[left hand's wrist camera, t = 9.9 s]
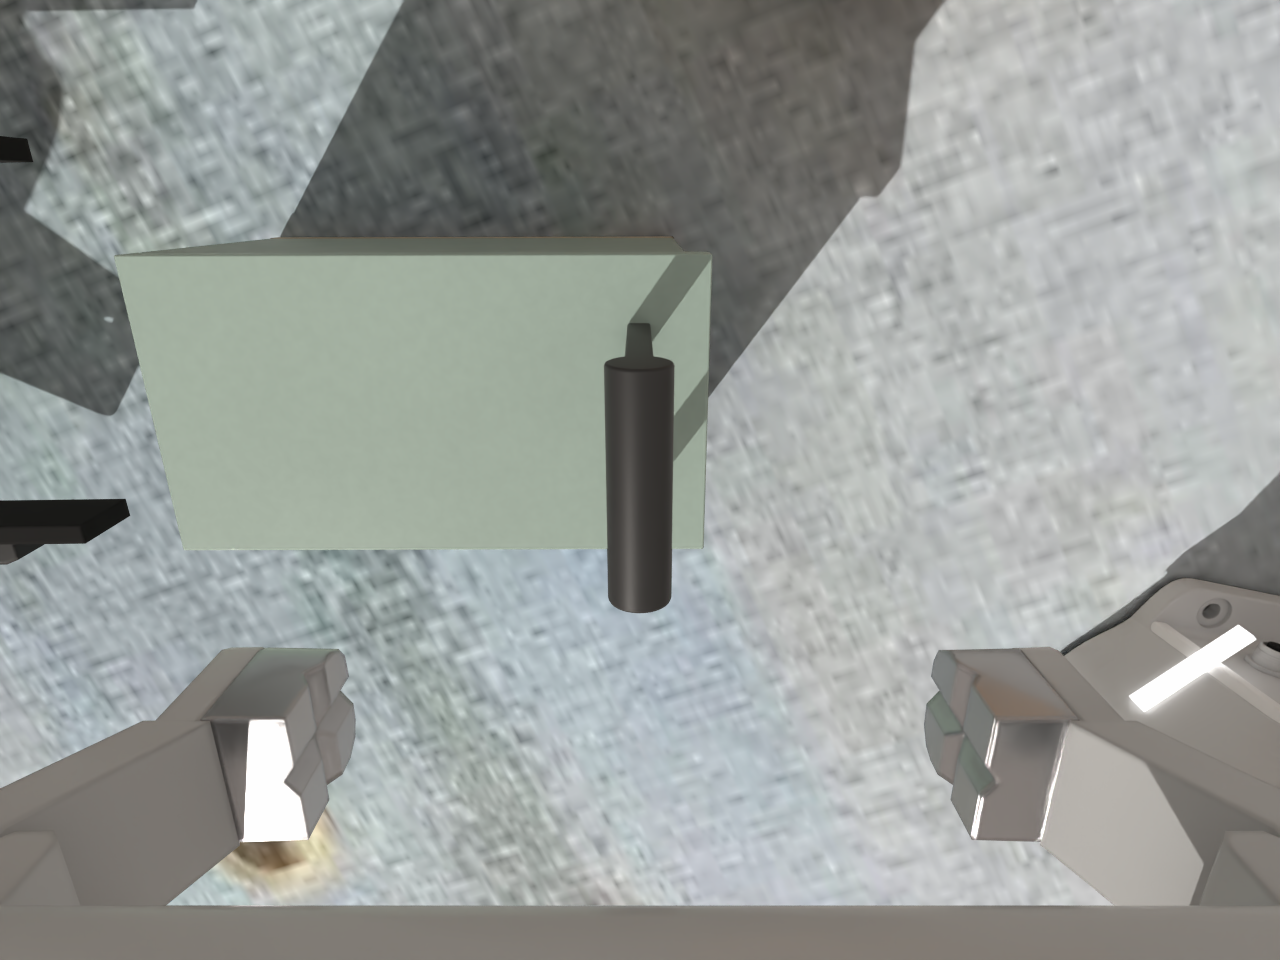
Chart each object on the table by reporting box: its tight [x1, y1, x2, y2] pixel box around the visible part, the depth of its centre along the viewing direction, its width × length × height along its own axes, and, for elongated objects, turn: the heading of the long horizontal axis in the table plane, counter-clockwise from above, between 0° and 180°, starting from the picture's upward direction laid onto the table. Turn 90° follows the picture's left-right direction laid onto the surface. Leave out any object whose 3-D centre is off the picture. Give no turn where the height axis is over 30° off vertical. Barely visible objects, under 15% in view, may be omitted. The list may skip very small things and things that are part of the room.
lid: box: [114, 252, 712, 613], centre depth 21 cm, size 18×10×8 cm, turn 90°
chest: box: [142, 236, 684, 253], centre depth 29 cm, size 17×10×10 cm, turn 90°
